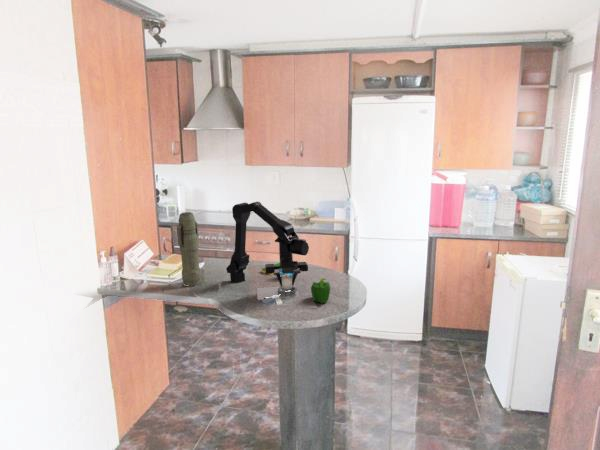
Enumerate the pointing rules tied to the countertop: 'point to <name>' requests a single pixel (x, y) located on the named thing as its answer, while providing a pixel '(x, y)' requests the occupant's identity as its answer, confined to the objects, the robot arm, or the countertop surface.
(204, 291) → the countertop surface
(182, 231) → the thermos
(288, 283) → the knob
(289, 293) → the hub plate
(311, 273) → the countertop surface
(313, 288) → the bell pepper
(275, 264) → the dish sponge
